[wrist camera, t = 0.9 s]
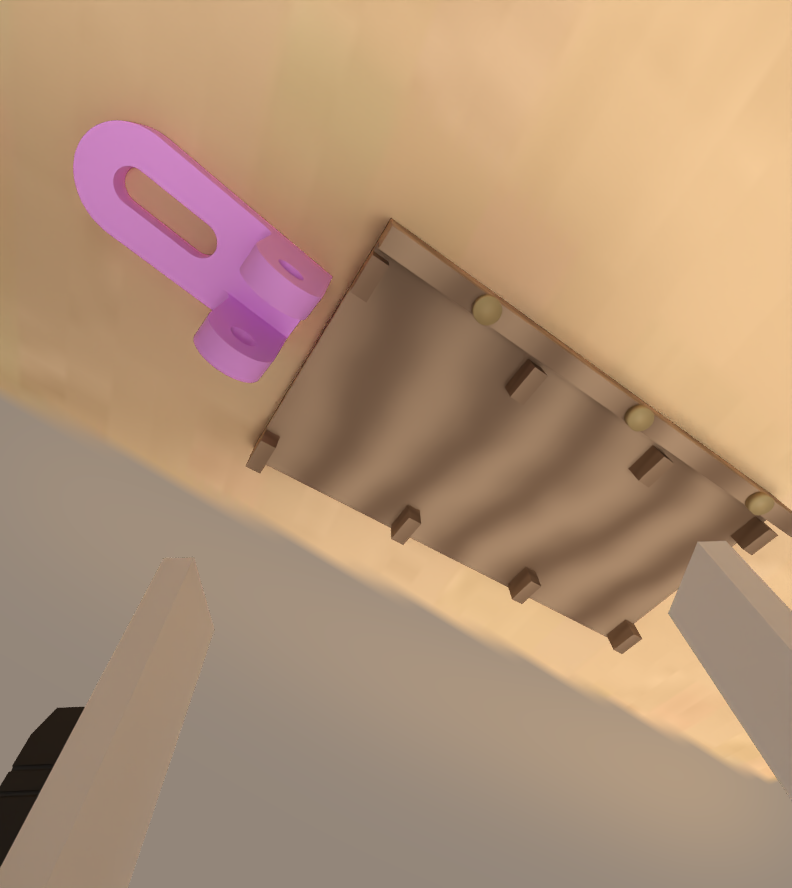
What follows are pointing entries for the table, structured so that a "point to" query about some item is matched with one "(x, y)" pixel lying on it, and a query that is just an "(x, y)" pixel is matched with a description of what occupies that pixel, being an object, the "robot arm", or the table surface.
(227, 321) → the bracket
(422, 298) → the ledge
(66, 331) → the table surface
